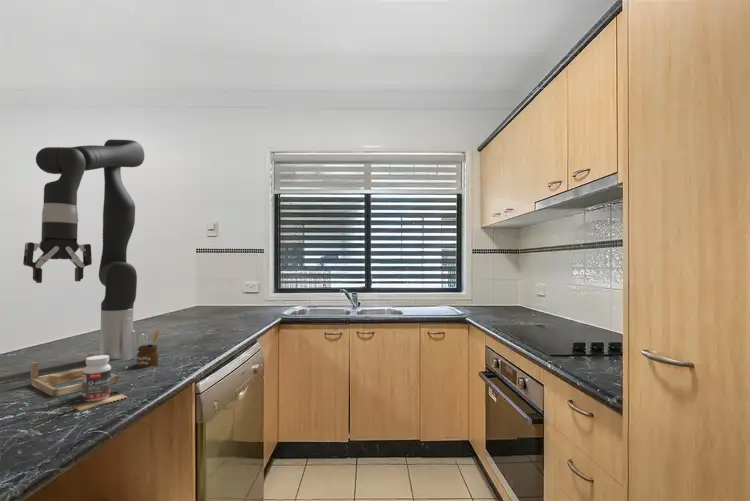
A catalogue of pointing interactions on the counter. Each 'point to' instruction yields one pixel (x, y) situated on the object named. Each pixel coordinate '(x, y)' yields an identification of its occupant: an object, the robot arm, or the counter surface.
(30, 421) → the counter surface
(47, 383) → the offcut bottom
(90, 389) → the pill bottle
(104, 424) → the counter surface
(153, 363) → the utensil holder
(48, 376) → the rack
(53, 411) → the counter surface
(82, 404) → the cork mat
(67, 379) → the offcut top
